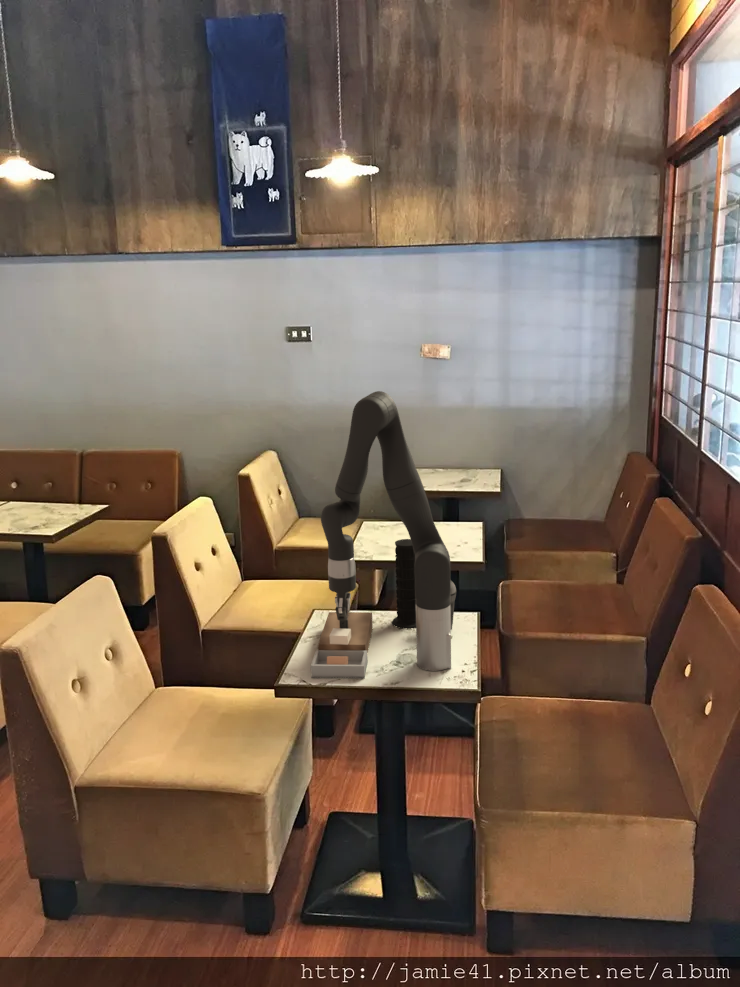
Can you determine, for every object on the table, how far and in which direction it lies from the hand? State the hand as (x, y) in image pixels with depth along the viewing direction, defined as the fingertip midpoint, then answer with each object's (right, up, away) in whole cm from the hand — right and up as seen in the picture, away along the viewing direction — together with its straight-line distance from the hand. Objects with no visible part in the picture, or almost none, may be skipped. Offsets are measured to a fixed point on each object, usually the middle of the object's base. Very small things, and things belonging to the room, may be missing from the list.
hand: (344, 631), depth 229 cm
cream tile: (-1, -2, -4) cm, 4 cm away
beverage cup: (+29, -2, +15) cm, 33 cm away
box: (-1, -9, -10) cm, 13 cm away
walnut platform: (+1, -5, +6) cm, 8 cm away
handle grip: (+19, -1, +20) cm, 27 cm away
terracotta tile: (-1, -5, -11) cm, 12 cm away
